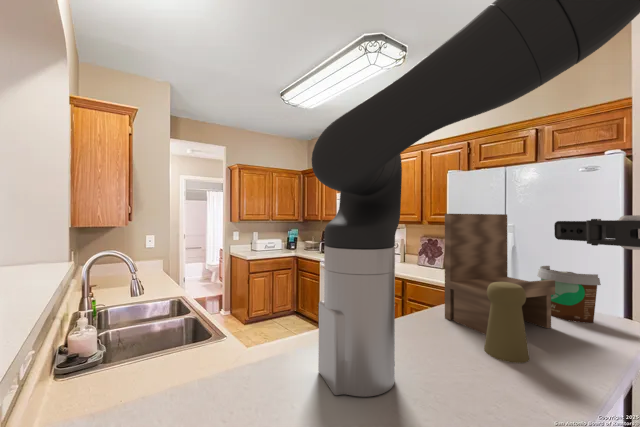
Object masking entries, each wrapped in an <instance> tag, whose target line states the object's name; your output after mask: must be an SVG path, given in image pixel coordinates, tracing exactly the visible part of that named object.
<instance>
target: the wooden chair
mask: <svg viewBox="0 0 640 427" xmlns="http://www.w3.org/2000/svg"><path fill="white" fill-rule="evenodd" d="M493 282H510V283H514V284H517V285H520V286H521V287H523V289H524V290H525V293H526V301H525V303H524V304H523V305H522V312H523V319H524V322H527V323H529V324H532V325H536V326H538V327H541V328H544V327H545V329H550V327H551V328H552V316H551V295H555V280H541V279H540V280H532V281H530V280H524V279H520V278H514V277H510V276H508V214H506V213H505V214H500V213H499V214H498V213H494V214H493V213H492V214H491V213H444V319H446V320H449V321H454V322H456V324H457V323H458V324H460V325H462V326H464V327H467V328H469V329H471V330H473V331H475V332H478V333H481V334H483V335H485V336H486V333H487V326H488V320H489V313H490V306H491V302H490V300H489V299H488V296H487V288H488V286H489V285H490V284H491V283H493Z"/></svg>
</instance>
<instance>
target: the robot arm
mask: <svg viewBox="0 0 640 427" xmlns="http://www.w3.org/2000/svg"><path fill="white" fill-rule="evenodd" d="M639 14H640V0H494V1H493V2H492V3H490V5H488V6H487V7H486V8H484V10H482V11H481V12H480V13H479V14H477V15H476V16H475V17H474V18H473V19H472V20H471V21H470V22H469V23H467V24H466V25H465V26H464V27H462V28H461V29H459V31H457V32H456V33H454V34H452V36H451V37H449V38H448V39H447V40H445V41H444V42H443V43H441V44H440V45H439V46H437V47H436V48H435V49H434V50H432V51H431V52H430V53H429V54H427V55H426V56H425V57H424V58H422V59H421V60H419V61H418V62H417V63H416V64H415V65H414V66H412V67H411V68H409V69H408V70H407V71H406V72H405V73H403V74H402V75H401V76H399V77H398V78H397V79H395V80H394V81H392V82H391V83H390V84H388V85H386V86H385V87H384V88H382V89H381V90H379V91H378V92H376V93H374V94H373V95H371V96H369V97H368V98H366V99H365V100H364V101H362V102H361V103H358V104H357V105H356V106H354V107H353V108H351V109H349V110H348V111H347V112H345V113H344V114H342V115H340V116H339V117H338V118H336V119H335V120H334V121H332V122H331V123H330V124H329V125H328V126H327V127H326V128H325V129H324V130H323V131H322V133H321V134H320V135H319V137H318V139H317V140H316V141H315V144H314V147H313V149H312V152H311V153H312V154H311V169H312V172H313V174H314V176H315V177H316V178H317V180H318V181H319V182H320V183H321V184H323V185H324V186H325V187H328V188H330V189H331V190H334V191H337V192H339V207H338V211H337V213H336V214H335V217H333V219H331V220H330V221H328V223H327V224H326V225H325V227H324V236H323V237H324V241H323V242H324V246H323V249H324V251H323V252H324V257H323V258H324V260H323V261H324V264H323V266H324V267H323V268H324V269H323V270H324V271H323V272H324V273H323V300H320V301H319V302H318V370H317V371H318V373H319V374H320V376H321V377H322V379H323V381H324V382H325V383H326V385H327V386H328V388H329V389H330V390H331V392H332V393H333V395H334V396H340V395H346V396H348V395H349V396H353V397H363V398H365V397H373V396H379V395H382V394H384V393H387V392H388V391H390V390H391V389H392V388H393V386H394V385H395V381H396V379H395V378H396V377H395V366H396V361H395V355H396V354H395V352H396V350H395V349H396V348H395V345H396V344H395V339H396V336H395V332H396V330H395V329H396V328H395V326H396V325H395V324H396V321H395V320H396V318H395V317H396V316H395V314H396V313H395V312H396V311H395V310H396V309H395V308H396V306H395V305H396V303H395V302H396V301H395V300H396V299H395V297H396V296H395V295H396V294H395V292H396V291H395V289H396V287H395V286H396V281H395V279H396V274H395V273H396V272H395V271H396V270H395V269H396V233H397V230H398V227H399V224H400V219H401V208H402V207H401V206H402V182H403V181H402V178H403V169H402V168H403V167H402V156H401V154H402V153H403V152H404V151H405V150H407V149H409V148H410V147H412V146H413V145H414V144H416V143H417V142H419V141H420V140H422V139H424V138H426V137H428V136H429V135H431V134H432V133H434V132H436V131H438V130H441V129H443V128H445V127H447V126H450V125H452V124H455V123H459V122H461V121H464V120H467V119H470V118H473V117H476V116H478V115H481V114H484V113H487V112H489V111H492V110H495V109H497V108H500V107H503V106H505V105H507V104H509V103H512V102H514V101H516V100H518V99H520V98H521V97H524V96H525V95H527V94H529V93H531V92H533V91H534V90H536V89H538V88H539V87H541V86H543V85H544V84H547V83H548V82H549V81H551V80H553V79H554V78H556V77H557V76H559V75H561V74H562V73H564V72H566V71H567V70H569V69H570V68H572V67H574V66H575V65H577V64H578V63H580V62H582V61H583V60H585V59H587V58H588V57H589V56H590V55H592V54H594V53H595V52H596V51H597V50H599V49H600V48H602V47H603V46H604V45H606V44H607V43H609V41H610V40H611V39H613V38H614V37H615V36H617V34H618V33H620V32H621V31H622V30H623V29H625V27H627V25H629V24H630V23H631V22H632V21H633V20H634V19H635V18H636V17H637V16H638V15H639ZM553 226H554V237H555V239H557V240H558V241H559V240H562V241H574V242H586V244H588V245H591V246H593V247H595V246H601V245H603V246H618V247H621V248H622V249H626V250H633V251H634V250H636V251H637V250H638V251H640V215H635V214H634V215H629V214H628V215H622V216H621V217H619V218H618V219H615V220H614V219H613V220H610V219H608V220H605V219H602V218H591V219H590V220H581V221H580V220H557V221H555V222H554V225H553Z"/></svg>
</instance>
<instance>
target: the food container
mask: <svg viewBox="0 0 640 427" xmlns="http://www.w3.org/2000/svg"><path fill="white" fill-rule="evenodd" d="M537 277H538V278H540V280H555V295H551V317H553V318H557V319H560V320H563V319H564V321H568V320H570V321H569V322H574V321H576V322H577V323H583V322H585V324H594V322H595V321H594V320H595V311H596V302H597V294H598V292H597V291H598V286H601V280H600V279H601V278H600V277H599V274H595V273H593V274H591V273H576V272H573V271H564V270H563V271H562V270H561V271H559V270H555V269H551V266H550V265H541V266H540V267H539V269H538V271H537Z"/></svg>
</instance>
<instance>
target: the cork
mask: <svg viewBox="0 0 640 427" xmlns="http://www.w3.org/2000/svg"><path fill="white" fill-rule="evenodd" d="M487 296H488V299H489V300H490V302H491V306H490V313H489V320H488V326H487V333H486V335H485V341H484V348H483V349H484V353H485V354H486V355H488V356H490V357H491V358H493V359H496V360H499V361H502V362H507V363H512V364H513V363H515V364H523V363H527V362H529V361H530V359H531V358H530V353H529V346H528V340H527V333H526V332H527V331H526V325H525V321H524V319H523V312H522V305H523V304H524V303H525V301H526V293H525V290H524V289H523V287H521V286H520V285H517V284H514V283H510V282H493V283H491V284H490V285H489V286H488V288H487Z"/></svg>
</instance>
